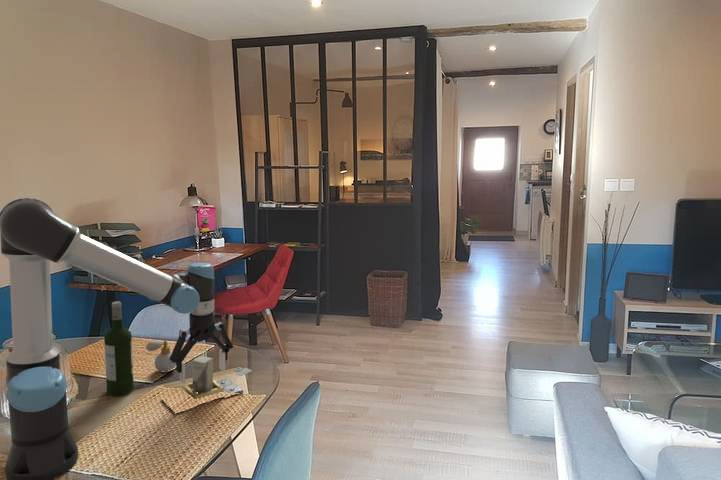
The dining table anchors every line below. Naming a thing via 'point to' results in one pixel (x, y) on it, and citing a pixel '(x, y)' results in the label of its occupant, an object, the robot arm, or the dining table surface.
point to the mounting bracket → (242, 371)
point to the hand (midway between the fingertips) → (202, 375)
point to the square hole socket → (214, 388)
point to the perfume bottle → (161, 355)
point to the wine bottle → (118, 355)
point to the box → (202, 374)
